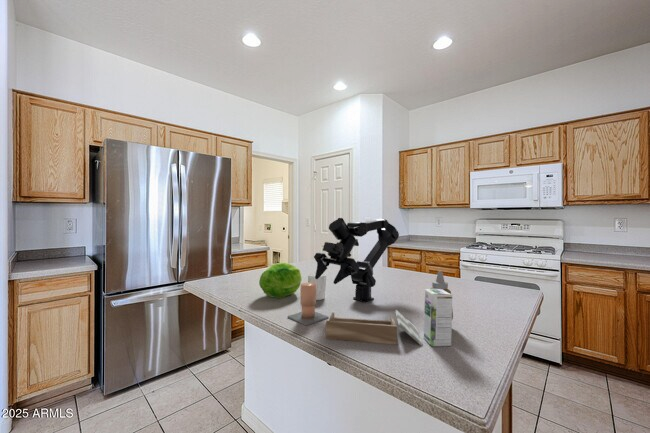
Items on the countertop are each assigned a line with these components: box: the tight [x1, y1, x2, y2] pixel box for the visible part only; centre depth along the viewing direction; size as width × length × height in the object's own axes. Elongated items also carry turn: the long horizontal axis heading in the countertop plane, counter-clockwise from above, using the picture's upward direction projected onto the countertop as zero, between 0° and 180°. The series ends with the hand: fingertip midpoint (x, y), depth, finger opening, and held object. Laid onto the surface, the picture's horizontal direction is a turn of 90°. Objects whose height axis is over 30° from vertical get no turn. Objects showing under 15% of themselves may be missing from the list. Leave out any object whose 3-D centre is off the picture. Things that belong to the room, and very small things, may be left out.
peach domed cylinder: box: [299, 282, 317, 319], centre depth 98 cm, size 5×5×11 cm
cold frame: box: [325, 309, 424, 346], centre depth 87 cm, size 14×27×6 cm, turn 81°
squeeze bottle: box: [429, 270, 454, 320], centre depth 92 cm, size 8×8×18 cm
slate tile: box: [287, 311, 330, 327], centre depth 98 cm, size 10×10×1 cm
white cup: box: [307, 272, 327, 301], centre depth 121 cm, size 8×8×10 cm
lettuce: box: [259, 262, 302, 299], centre depth 124 cm, size 15×23×16 cm
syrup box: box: [423, 288, 453, 347], centre depth 81 cm, size 6×6×14 cm
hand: (324, 281), depth 103 cm, fingers open, 9 cm apart
